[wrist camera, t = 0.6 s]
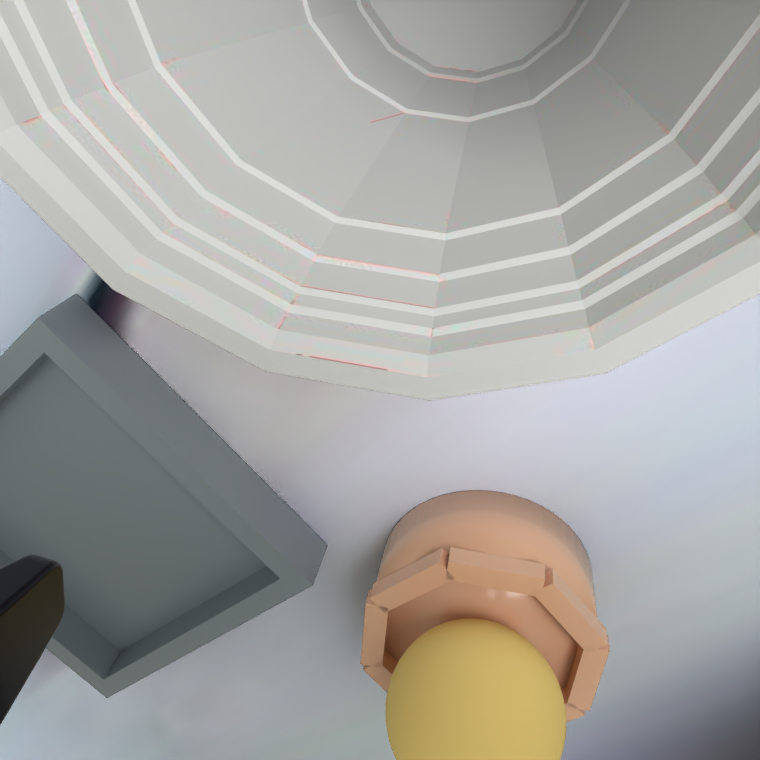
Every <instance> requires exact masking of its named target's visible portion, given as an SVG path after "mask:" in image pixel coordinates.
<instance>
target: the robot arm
mask: <svg viewBox="0 0 760 760" xmlns="http://www.w3.org/2000/svg"><path fill="white" fill-rule="evenodd" d="M64 610H65V594H64V579H63V568H62V566H61V564H60V563H59V562H57V561H55V560H51V559H48V558H45V557H41V556H38V555H28V556H25V557H22V558H20V559H18V560H16V561H14V562H12V563H10V564H8V565H6V566H4V567H2V568H0V724H1V723H2V721H3V720H4V718H5V716H6V715H7V713H8V711H9V710H10V708H11V706H12V704H13V703H14V701H15V699H16V698H17V696H18V694H19V692H20V691H21V689H22V687H23V686H24V684H25V682H26V681H27V679H28V677H29V675H30V674H31V672H32V670H33V669H34V667H35V665H36V663H37V662H38V660H39V658H40V657H41V655H42V653H43V651H44V650H45V648H46V646H47V645H48V643H49V641H50V639H51V638H52V636H53V634H54V633H55V631H56V629H57V627H58V626H59V624H60V622H61V620H62V617H63V614H64Z"/></svg>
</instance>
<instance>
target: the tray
mask: <svg viewBox="0 0 760 760" xmlns="http://www.w3.org/2000/svg"><path fill="white" fill-rule="evenodd" d="M326 548H327V544H326V543H325V542H324V541H323V540H322V539H321V538H320V537H319V536H318V535H317V534H316V533H315V532H314V531H313V530H312V529H311V528H310V527H309V526H308V525H307V524H306V523H305V522H304V521H303V520H302V519H301V518H300V517H299V516H298V515H297V514H296V513H295V512H294V511H293V510H292V509H291V508H290V507H289V506H288V505H287V504H286V503H285V502H284V501H283V500H282V499H281V498H280V497H279V496H278V495H277V494H276V493H275V492H274V491H273V490H272V489H271V488H270V487H269V486H268V485H267V484H266V483H265V482H264V481H263V480H262V479H261V478H260V477H259V476H258V475H257V474H256V473H255V472H254V471H253V470H252V469H251V468H250V467H249V466H248V465H247V464H246V463H245V462H244V461H243V460H242V459H241V458H240V457H239V456H238V455H237V454H236V453H235V452H234V451H233V450H232V449H231V448H230V447H229V446H228V445H227V444H226V443H225V442H224V441H223V440H222V439H221V438H220V437H219V436H218V435H217V434H216V433H215V432H214V431H213V430H212V429H211V428H210V427H209V426H208V425H207V424H206V423H205V422H204V421H203V420H202V419H201V418H200V417H199V416H198V415H197V414H196V413H195V412H194V411H193V410H192V409H191V408H190V407H189V406H188V405H187V404H186V403H185V402H184V401H183V400H182V399H181V398H180V397H179V396H178V395H177V394H176V393H175V392H174V391H173V390H172V389H171V388H170V387H169V386H168V385H167V384H166V383H165V382H164V381H163V380H162V379H161V378H160V377H159V376H158V375H157V374H156V373H155V372H154V371H153V370H152V369H151V368H150V367H149V366H148V365H147V364H146V363H145V362H144V361H143V360H142V359H141V358H140V357H139V356H138V355H137V354H136V353H135V352H134V351H133V350H132V349H131V348H130V347H129V346H128V345H127V344H126V343H125V342H124V341H123V340H122V339H121V338H120V337H119V336H118V335H117V334H116V333H115V332H114V331H113V330H112V329H111V328H110V327H109V326H108V325H107V324H106V323H105V322H104V321H103V320H102V319H101V318H100V317H99V316H98V315H97V314H96V313H95V312H94V311H93V310H92V309H91V308H90V307H89V306H88V305H87V304H86V303H85V302H84V301H83V300H82V299H81V298H80V297H79V296H78V295H77V294H75V295H73V296H72V297H70V298H69V299H67V300H65V301H64V302H62V303H61V304H59V305H58V306H56V307H54V308H53V309H51V310H50V311H48V312H47V313H45V314H43V315H42V316H40V317H39V318H37V319H36V321H35V322H34V323H33V324H32V325H31V326H30V327H29V328H28V329H27V330H26V331H25V332H24V333H23V334H22V335H21V336H20V337H19V338H18V339H17V340H16V341H15V342H14V343H13V344H12V345H11V346H10V347H9V348H8V350H7V351H6V352H5V353H4V354H3V355H2V356H1V357H0V568H2V567H4V566H6V565H8V564H10V563H12V562H14V561H16V560H18V559H20V558H22V557H25V556H28V555H38V556H41V557H45V558H48V559H51V560H55V561H57V562H59V563H60V564H61V566H62V568H63V579H64V594H65V610H64V614H63V617H62V620H61V622H60V624H59V626H58V627H57V629H56V631H55V633H54V634H53V636H52V638H51V639H50V641H49V643H48V645H47V646H46V648H47V649H48V650H49V651H50V652H51V653H53V654H54V655H55V656H56V657H58V658H59V659H60V660H61V661H62V662H64V663H65V664H66V665H67V666H69V667H70V668H71V669H72V670H73V671H75V672H76V673H77V674H78V675H79V676H81V677H82V678H83V679H84V680H86V681H87V682H88V683H89V684H90V685H92V686H93V687H94V688H95V689H97V690H98V691H99V692H100V693H101V694H103V695H104V696H105V697H106V698H108V697H110V696H112V695H113V694H115V693H117V692H119V691H121V690H123V689H124V688H126V687H128V686H130V685H132V684H133V683H135V682H137V681H139V680H141V679H143V678H144V677H146V676H148V675H150V674H152V673H154V672H155V671H157V670H159V669H161V668H163V667H164V666H166V665H168V664H170V663H172V662H174V661H175V660H177V659H179V658H181V657H183V656H185V655H186V654H188V653H190V652H192V651H194V650H195V649H197V648H199V647H201V646H203V645H205V644H206V643H208V642H210V641H212V640H214V639H216V638H217V637H219V636H221V635H223V634H225V633H226V632H228V631H230V630H232V629H234V628H236V627H237V626H239V625H241V624H243V623H245V622H247V621H248V620H250V619H252V618H254V617H256V616H257V615H259V614H261V613H263V612H265V611H267V610H268V609H270V608H272V607H274V606H276V605H278V604H279V603H281V602H283V601H285V600H287V599H288V598H290V597H292V596H294V595H296V594H298V593H299V592H301V591H303V590H305V589H307V588H309V587H310V586H312V585H313V583H314V580H315V578H316V575H317V572H318V570H319V567H320V564H321V562H322V559H323V556H324V554H325V551H326Z"/></svg>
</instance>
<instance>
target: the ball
mask: <svg viewBox="0 0 760 760" xmlns="http://www.w3.org/2000/svg"><path fill="white" fill-rule="evenodd" d="M386 726H387V732H388V737H389V742H390V745H391V748H392V751H393V753H394V756H395V758H396V760H560V758H561V755H562V753H563V748H564V743H565V737H566V711H565V704H564V699H563V695H562V691H561V688H560V685H559V683H558V680H557V678H556V676H555V674H554V672H553V670H552V668H551V667H550V665H549V663H548V662H547V661H546V659H545V658H544V656H543V655H542V654H541V653H540V651H539V650H538V649H537V648H536V647H535V646H534V645H533V644H532V643H531V642H530V641H528V640H527V639H526V638H525V637H523V636H522V635H521V634H519V633H517V632H516V631H514V630H512V629H511V628H509V627H507V626H504V625H502V624H499V623H496V622H493V621H489V620H483V619H473V618H469V619H458V620H453V621H449V622H446V623H443V624H440V625H438V626H435V627H434V628H432V629H430V630H428V631H427V632H425V633H424V634H422V635H421V636H420V637H418V638H417V639H416V640H415V641H414V642H413V643H412V644H411V645H410V646H409V647H408V648H407V650H406V651H405V653H404V654H403V656H402V657H401V659H400V660H399V662H398V664H397V666H396V668H395V670H394V672H393V675H392V677H391V680H390V684H389V687H388V692H387V698H386Z"/></svg>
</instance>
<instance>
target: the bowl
mask: <svg viewBox="0 0 760 760" xmlns="http://www.w3.org/2000/svg"><path fill="white" fill-rule="evenodd" d="M469 618H473V619H483V620H489V621H493V622H496V623H499V624H502V625H504V626H507V627H509V628H511V629H512V630H514V631H516V632H517V633H519V634H521V635H522V636H523V637H525V638H526V639H527V640H528V641H530V642H531V643H532V644H533V645H534V646H535V647H536V648H537V649H538V650H539V651H540V653H541V654H542V655H543V656H544V658H545V659H546V661H547V662H548V663H549V665H550V667H551V668H552V670H553V672H554V674H555V676H556V678H557V680H558V683H559V685H560V688H561V691H562V695H563V699H564V704H565V711H566V722H567V721H570V720H573V719H576V718H579V717H582V716H584V710H586V711H590V708H591V705H592V702H593V699H594V696H595V693H596V690H597V687H598V684H599V681H600V678H601V675H602V672H603V669H604V666H605V663H606V660H607V657H608V654H609V651H610V650H609V643H608V635H607V633H606V628H605V627H604V626H603V624H602V623H601V622H600V621H599V620H598V619H597V612H596V603H595V594H594V585H593V576H592V569H591V563H590V560H589V557H588V554H587V551H586V549H585V547H584V546H583V544H582V542H581V540H580V539H579V538H578V536H577V535H576V534H575V532H574V531H573V530H572V529H571V528H570V527H569V526H568V525H567V524H566V523H565V522H564V521H563V520H562V519H560V518H559V517H558V516H556V515H555V514H554V513H552V512H551V511H549V510H547V509H546V508H544V507H542V506H540V505H538V504H536V503H534V502H532V501H529V500H527V499H524V498H521V497H518V496H515V495H510V494H506V493H501V492H493V491H472V490H471V491H461V492H454V493H450V494H445V495H442V496H439V497H436V498H433V499H430V500H428V501H426V502H424V503H422V504H420V505H418V506H417V507H415V508H414V509H412V510H411V511H409V512H408V513H407V514H406V515H405V516H404V517H403V518H402V519H401V520H400V521H399V522H398V523H397V525H396V526H395V527H394V529H393V530H392V532H391V534H390V536H389V538H388V540H387V543H386V546H385V550H384V553H383V557H382V561H381V565H380V569H379V572H378V576H377V580H376V583H374V584H373V586H372V589H369V593H368V596H367V600H366V605H365V617H364V629H363V640H362V652H361V664H363V665H364V668H363V670H364V671H365V672H366V673H367V674H368V675H369V676H370V677H371V678H372V679H374V680H375V681H376V682H377V683H378V684H379V685H380V686H381V687H382V688H383V689H384V690H385V691H386V692H388V687H389V684H390V680H391V677H392V675H393V672H394V670H395V668H396V666H397V664H398V662H399V660H400V659H401V657H402V656H403V654H404V653H405V651H406V650H407V648H408V647H409V646H410V645H411V644H412V643H413V642H414V641H415V640H416V639H417V638H418V637H420V636H421V635H422V634H424V633H425V632H427V631H428V630H430V629H432V628H434V627H435V626H438V625H440V624H443V623H446V622H449V621H453V620H458V619H469Z"/></svg>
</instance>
